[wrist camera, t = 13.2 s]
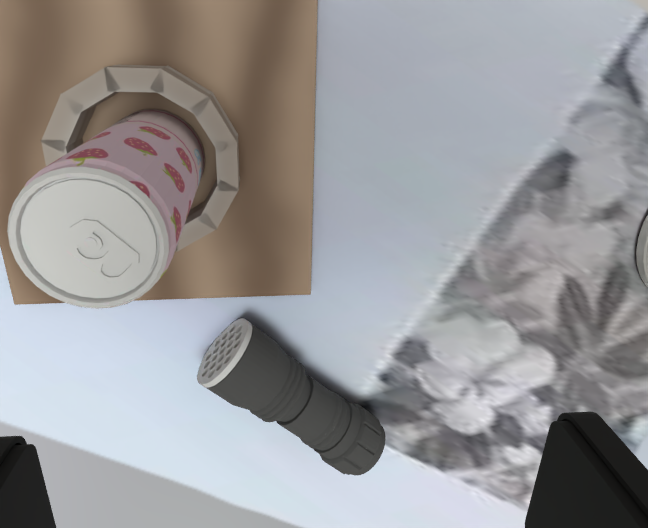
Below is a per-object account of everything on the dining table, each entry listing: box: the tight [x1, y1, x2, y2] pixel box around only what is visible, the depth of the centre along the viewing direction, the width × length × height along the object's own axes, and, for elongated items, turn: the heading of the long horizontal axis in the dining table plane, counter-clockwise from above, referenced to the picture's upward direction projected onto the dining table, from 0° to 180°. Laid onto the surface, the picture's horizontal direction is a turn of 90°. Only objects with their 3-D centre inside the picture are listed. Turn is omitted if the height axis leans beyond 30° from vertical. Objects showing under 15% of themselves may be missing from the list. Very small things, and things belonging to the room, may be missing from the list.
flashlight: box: [197, 318, 385, 475], centre depth 38 cm, size 15×5×5 cm, turn 45°
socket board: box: [0, 0, 318, 304], centre depth 30 cm, size 20×20×4 cm
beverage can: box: [7, 109, 205, 308], centre depth 24 cm, size 6×6×15 cm
